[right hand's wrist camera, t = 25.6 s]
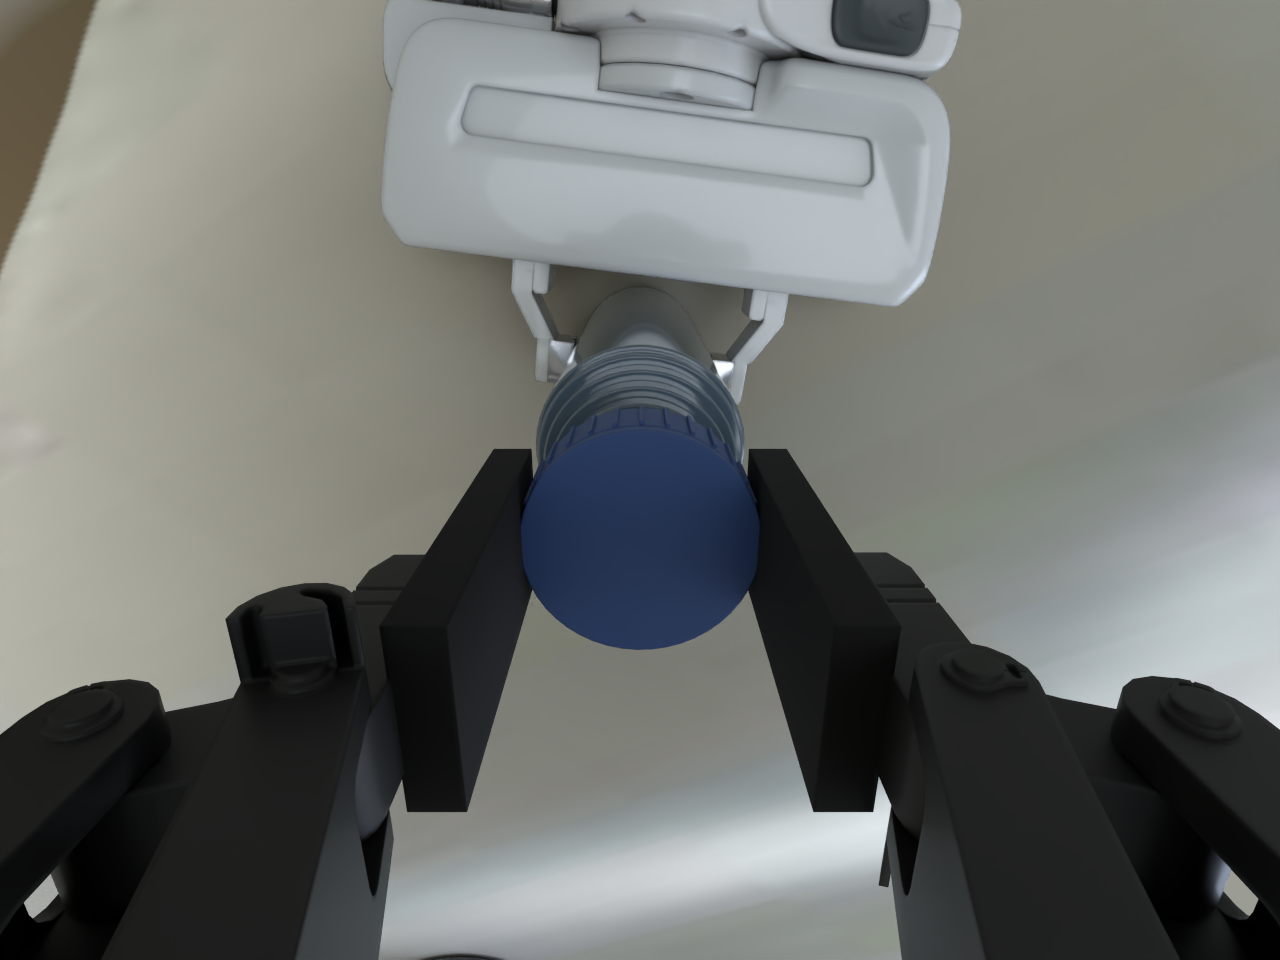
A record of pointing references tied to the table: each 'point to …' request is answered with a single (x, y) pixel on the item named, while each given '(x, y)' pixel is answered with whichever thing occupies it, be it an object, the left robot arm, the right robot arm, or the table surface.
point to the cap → (640, 529)
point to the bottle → (640, 371)
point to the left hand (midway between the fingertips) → (638, 390)
